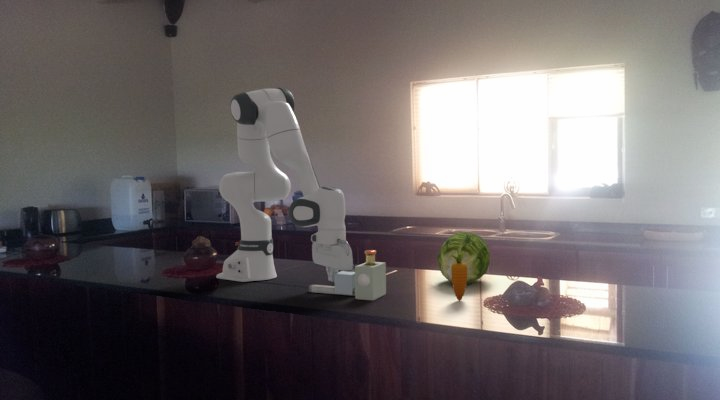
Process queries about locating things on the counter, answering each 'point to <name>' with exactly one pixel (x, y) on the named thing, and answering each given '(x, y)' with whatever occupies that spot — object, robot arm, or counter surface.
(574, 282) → the counter surface
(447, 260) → the lettuce
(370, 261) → the copper knob
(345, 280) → the block
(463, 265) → the carrot
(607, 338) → the counter surface
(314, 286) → the rail
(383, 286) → the block with square hole
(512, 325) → the counter surface
